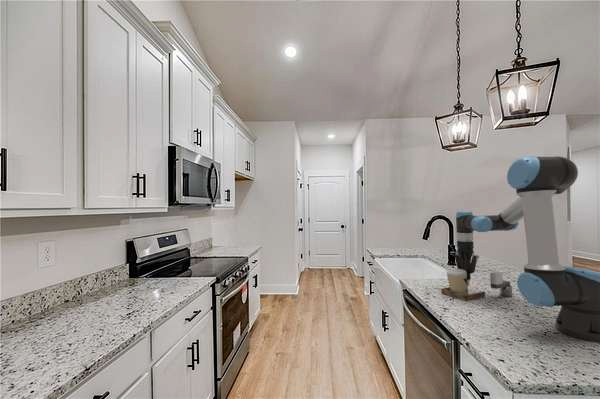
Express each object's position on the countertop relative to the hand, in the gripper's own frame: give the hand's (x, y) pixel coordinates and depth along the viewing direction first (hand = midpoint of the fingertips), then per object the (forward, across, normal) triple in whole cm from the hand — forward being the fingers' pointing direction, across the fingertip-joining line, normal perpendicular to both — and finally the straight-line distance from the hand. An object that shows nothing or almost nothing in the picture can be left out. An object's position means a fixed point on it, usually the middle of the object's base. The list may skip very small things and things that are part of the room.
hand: (466, 285), depth 151 cm
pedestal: (+4, -11, -14) cm, 19 cm away
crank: (-1, -11, -10) cm, 15 cm away
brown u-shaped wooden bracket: (+4, 0, +3) cm, 6 cm away
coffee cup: (+4, 0, +5) cm, 6 cm away
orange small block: (+5, +4, -14) cm, 15 cm away
